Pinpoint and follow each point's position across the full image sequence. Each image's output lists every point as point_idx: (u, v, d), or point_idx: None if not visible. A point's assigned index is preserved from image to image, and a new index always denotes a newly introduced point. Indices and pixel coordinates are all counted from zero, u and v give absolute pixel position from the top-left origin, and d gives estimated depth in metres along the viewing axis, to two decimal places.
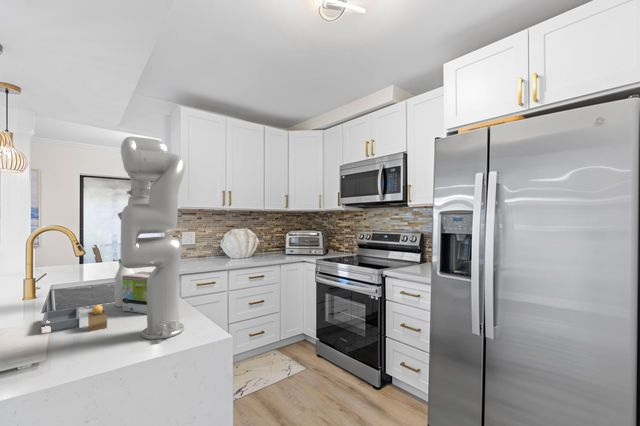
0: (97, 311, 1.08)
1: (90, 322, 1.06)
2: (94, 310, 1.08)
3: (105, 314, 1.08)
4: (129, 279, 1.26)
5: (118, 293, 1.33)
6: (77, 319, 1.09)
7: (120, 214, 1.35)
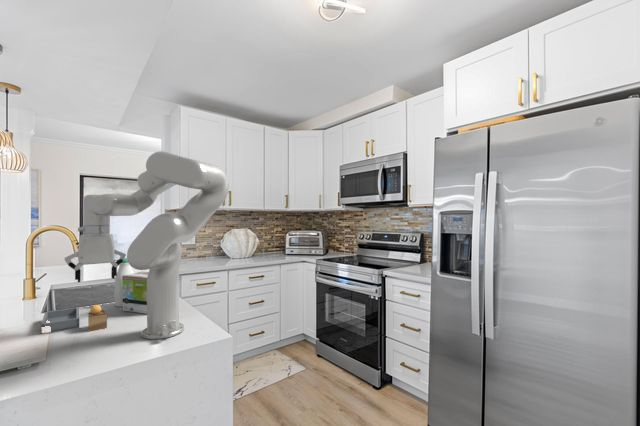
0: (96, 310, 1.08)
1: (90, 322, 1.06)
2: (92, 310, 1.07)
3: (105, 314, 1.08)
4: (129, 279, 1.26)
5: (118, 293, 1.33)
6: (77, 319, 1.09)
7: (68, 258, 1.04)
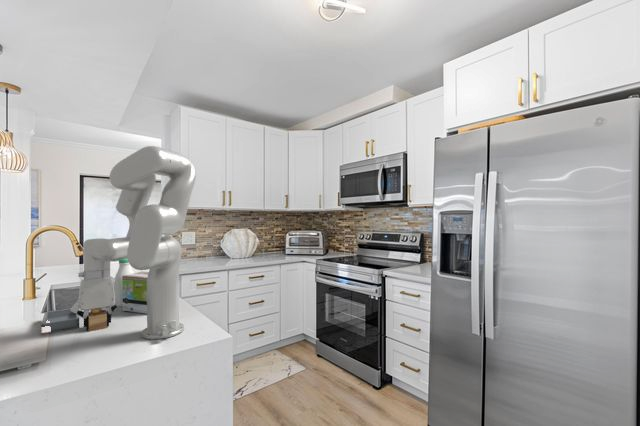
0: (95, 311, 1.08)
1: (90, 322, 1.06)
2: (92, 311, 1.07)
3: (105, 314, 1.08)
4: (129, 279, 1.26)
5: (118, 293, 1.33)
6: (77, 319, 1.09)
7: (73, 309, 1.05)
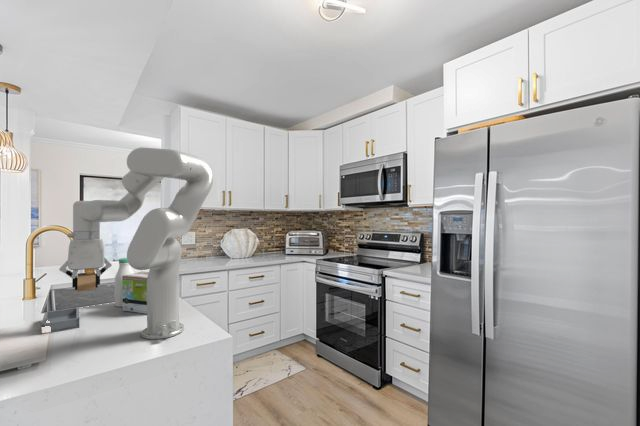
0: (87, 273, 1.09)
1: (79, 282, 1.07)
2: (85, 271, 1.09)
3: (94, 275, 1.10)
4: (129, 279, 1.26)
5: (118, 293, 1.33)
6: (77, 319, 1.09)
7: (62, 268, 1.06)
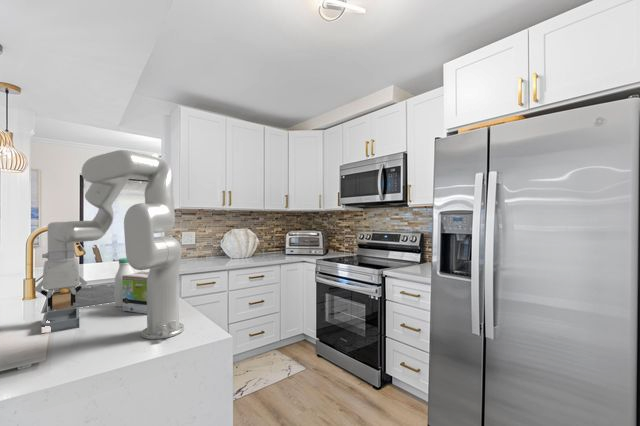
0: None
1: (54, 301, 1.10)
2: (61, 292, 1.12)
3: (69, 293, 1.13)
4: (129, 279, 1.26)
5: (118, 293, 1.33)
6: (77, 319, 1.09)
7: (37, 288, 1.09)
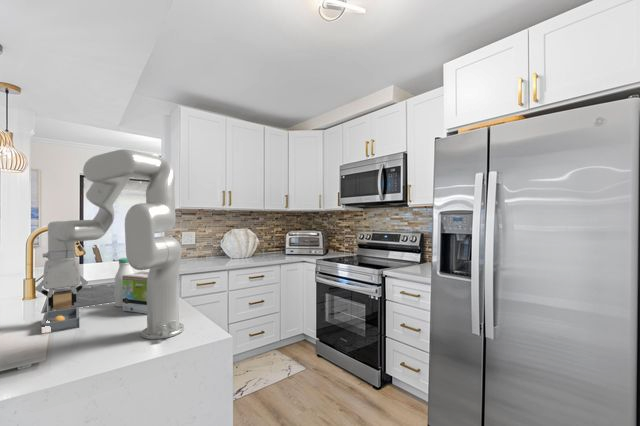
0: None
1: (54, 300, 1.10)
2: None
3: (70, 293, 1.12)
4: (129, 279, 1.26)
5: (118, 293, 1.33)
6: (77, 319, 1.09)
7: (38, 288, 1.09)
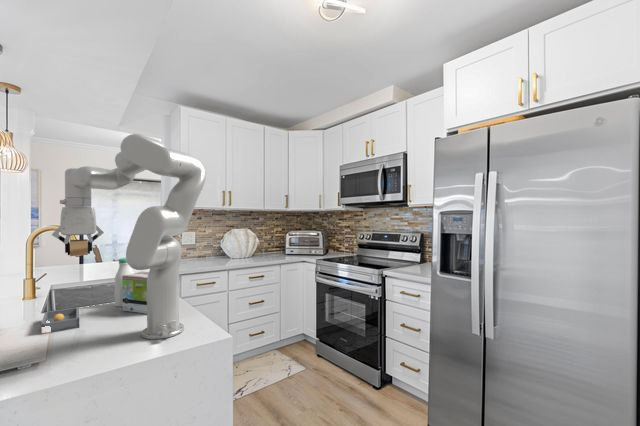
0: None
1: (71, 247, 1.10)
2: None
3: (86, 241, 1.12)
4: (129, 279, 1.26)
5: (118, 293, 1.33)
6: (77, 319, 1.09)
7: (55, 233, 1.09)
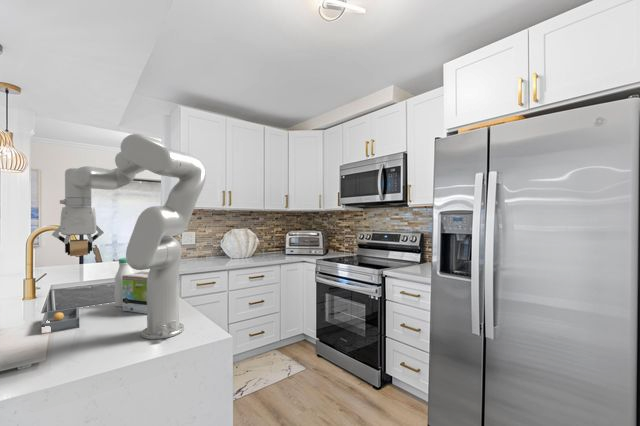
0: (58, 318, 1.13)
1: (71, 247, 1.10)
2: (56, 316, 1.13)
3: (86, 241, 1.12)
4: (129, 279, 1.26)
5: (118, 293, 1.33)
6: (77, 319, 1.09)
7: (55, 233, 1.09)
